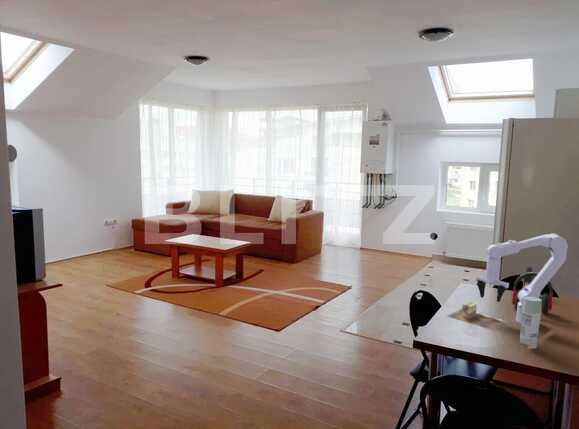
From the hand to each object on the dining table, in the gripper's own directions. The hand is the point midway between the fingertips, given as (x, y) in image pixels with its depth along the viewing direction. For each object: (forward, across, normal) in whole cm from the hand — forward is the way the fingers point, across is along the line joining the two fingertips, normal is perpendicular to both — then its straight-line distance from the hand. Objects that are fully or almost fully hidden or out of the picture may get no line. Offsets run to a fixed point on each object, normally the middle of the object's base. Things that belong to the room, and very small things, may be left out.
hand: (490, 299), depth 210 cm
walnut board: (+10, -3, -6) cm, 12 cm away
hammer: (+11, -2, +48) cm, 49 cm away
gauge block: (+9, -7, -6) cm, 13 cm away
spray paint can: (+11, +23, -16) cm, 30 cm away
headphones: (+10, +8, +30) cm, 33 cm away
